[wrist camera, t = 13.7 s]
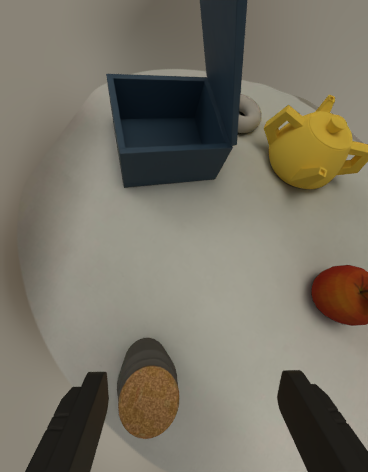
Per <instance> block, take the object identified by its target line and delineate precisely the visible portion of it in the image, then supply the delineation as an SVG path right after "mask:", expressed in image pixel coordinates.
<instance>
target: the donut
mask: <svg viewBox="0 0 368 472" xmlns="http://www.w3.org/2000/svg"><path fill="white" fill-rule="evenodd" d="M239 112H241V113H243V114H244V115H245V116H242V115H239V121H238V133H247V132H251V131H253V130H254V129H255V128H257V127H258V125H259V123H260V121H261V111H260V108H259V106H258V105H257V103H256V102H255V101H254V100H253V99H251V98H249V97H248V96H245V95H242V94H240V107H239Z"/></svg>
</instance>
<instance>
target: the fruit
mask: <svg viewBox="0 0 368 472" xmlns="http://www.w3.org/2000/svg"><path fill="white" fill-rule="evenodd" d="M312 298H313V301H314V303H315V305H316V307H317V308H318V309H319V310H320V311H321V312H322V313H323V314H324V315H325V316H327V317H328V318H330V319H332V320H334V321H336V322H339V323H342V324H346V325H351V326H354V325H366V324H368V272H367V271H365V270H364V269H362V268H359V267H355V266H351V265H344V266H333V267H331V268H329V269H327V270H325V271H323V272H321V273H320V274H319V275H318V276H317V277H316V278H315V280H314V282H313V285H312Z"/></svg>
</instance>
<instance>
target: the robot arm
mask: <svg viewBox="0 0 368 472" xmlns="http://www.w3.org/2000/svg"><path fill="white" fill-rule="evenodd" d="M277 399H278V405H279V409H280V412H281V414H282V416H283V418H284V421H285V423H286V425H287V427H288V429H289V432H290V434H291V436H292V438H293V440H294V442H295V445H296V447H297V449H298V451H299V453H300V456H301V458H302V460H303V462H304V464H305V467H306V469H307V471H308V472H368V451H367V450H366V448H365V447H364V445H363V444H362V443H361V441H360V440H359V438H358V437H357V435H356V434H355V433H354V431H353V430H352V428H351V427H350V426H349V424H347V423H346V420H345V419H344V417H343V416H342V414H341V413H340V412H338V409H337V407H336V406H335V405H334V403H333V402H332V400H331V399H330V397H329V396H328V395H327V394H326V393H325V392H324V391H323V390H321V389H320V388H319V387H318V386H317V385H316V384H310V382H309V381H308V379H307V378H306V376H305V375H304V373H303V372H302V371H300V370H286V371H283V372H282V375H281V380H280V385H279V390H278V395H277ZM108 400H109V396H108V382H107V373H106V372H88V373H87V375H86V377H85V379H84V382H83V384H82V386H81V387H72V388H71V390H70V391H69V392H68V393H67V394H66V395H65V396H64V397H63V398H62V399H61V401H60V404H59V405H58V407H57V409H56V411H55V414H54V417H53V418H52V419H51V421H50V423H49V425H48V428H47V430H46V431H45V433H44V435H43V437H42V439H41V441H40V443H39V445H38V447H37V449H36V451H35V453H34V455H33V457H32V459H31V461H30V463H29V465H28V467H27V469H26V471H25V472H90V470H91V466H92V463H93V460H94V456H95V453H96V449H97V446H98V442H99V439H100V435H101V431H102V427H103V424H104V421H105V417H106V414H107V409H108Z"/></svg>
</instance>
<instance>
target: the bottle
mask: <svg viewBox="0 0 368 472" xmlns="http://www.w3.org/2000/svg"><path fill="white" fill-rule="evenodd" d="M117 393H118V402H119V403H118V408H119V416H120V420H121V422H122V424H123V426H124V427H125V429H126V430H127V431H128V432H129V433H130V434H132V435H133V436H135V437H138V438H143V439H148V438H153V437H156V436H158V435H160V434H161V433H163V432H164V431H165V430H166V429H167V428H168V427H169V426H170V425H171V423H172V422H173V420H174V418H175V416H176V414H177V411H178V407H179V390H178V383H177V374H176V369H175V366H174V364H173V362H172V360H171V359H170V357H169V355H168V354H167V352H166V351H165V349H164V348H163V346H162V345H161V344H160V343H159V342H158V341H156V340H155V339H151V338H143V339H140V340H138V341H136V342H135V343H133V344H132V346H131V347H130V348H129V349H128V351H127V353H126V356H125V359H124V361H123V364H122V367H121V370H120V373H119V377H118V382H117Z"/></svg>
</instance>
